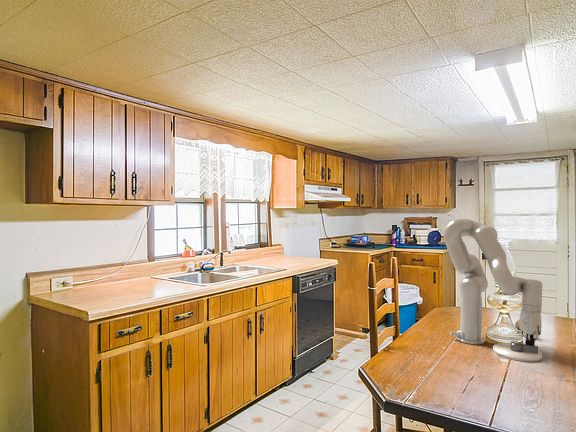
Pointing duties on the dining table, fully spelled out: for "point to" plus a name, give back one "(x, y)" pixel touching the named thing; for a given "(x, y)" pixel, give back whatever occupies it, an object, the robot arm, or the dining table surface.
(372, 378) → the dining table surface
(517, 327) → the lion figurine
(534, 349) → the dark gray block
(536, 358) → the plate
